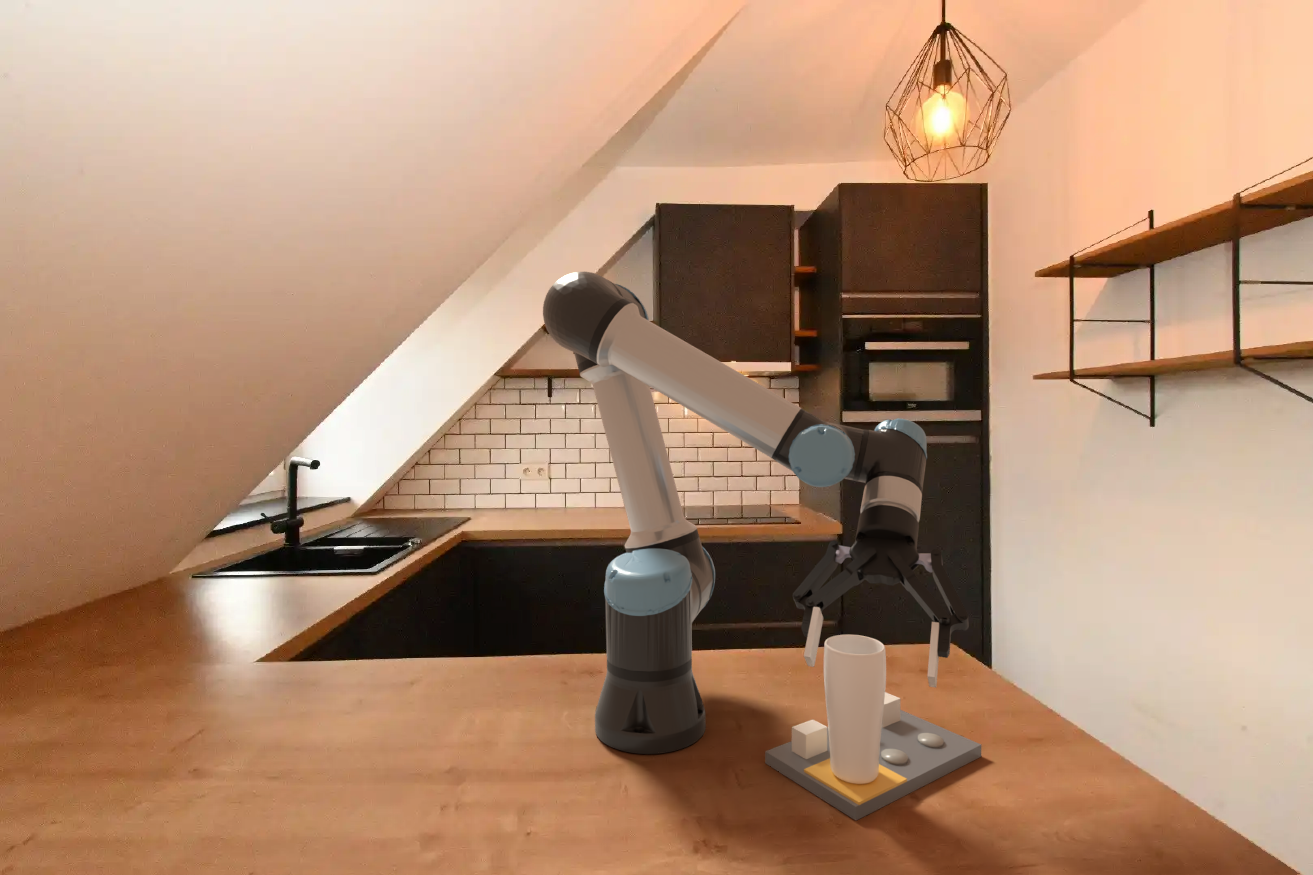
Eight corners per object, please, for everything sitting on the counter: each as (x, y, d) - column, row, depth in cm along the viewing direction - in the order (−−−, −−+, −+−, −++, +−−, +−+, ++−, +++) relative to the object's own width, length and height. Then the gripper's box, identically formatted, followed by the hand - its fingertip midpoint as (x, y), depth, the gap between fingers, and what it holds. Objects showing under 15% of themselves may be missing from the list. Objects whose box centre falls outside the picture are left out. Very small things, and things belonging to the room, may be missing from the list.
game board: (765, 763, 83) (765, 727, 83) (887, 714, 96) (887, 683, 96) (855, 820, 72) (855, 778, 71) (981, 756, 84) (981, 720, 84)
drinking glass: (877, 797, 73) (877, 659, 72) (815, 779, 76) (815, 647, 76) (891, 767, 78) (892, 640, 78) (833, 752, 82) (834, 630, 81)
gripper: (994, 542, 87) (989, 705, 74) (801, 528, 98) (770, 667, 86) (994, 507, 82) (989, 676, 69) (791, 496, 93) (755, 639, 81)
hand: (867, 671), depth 78 cm, fingers open, 13 cm apart
